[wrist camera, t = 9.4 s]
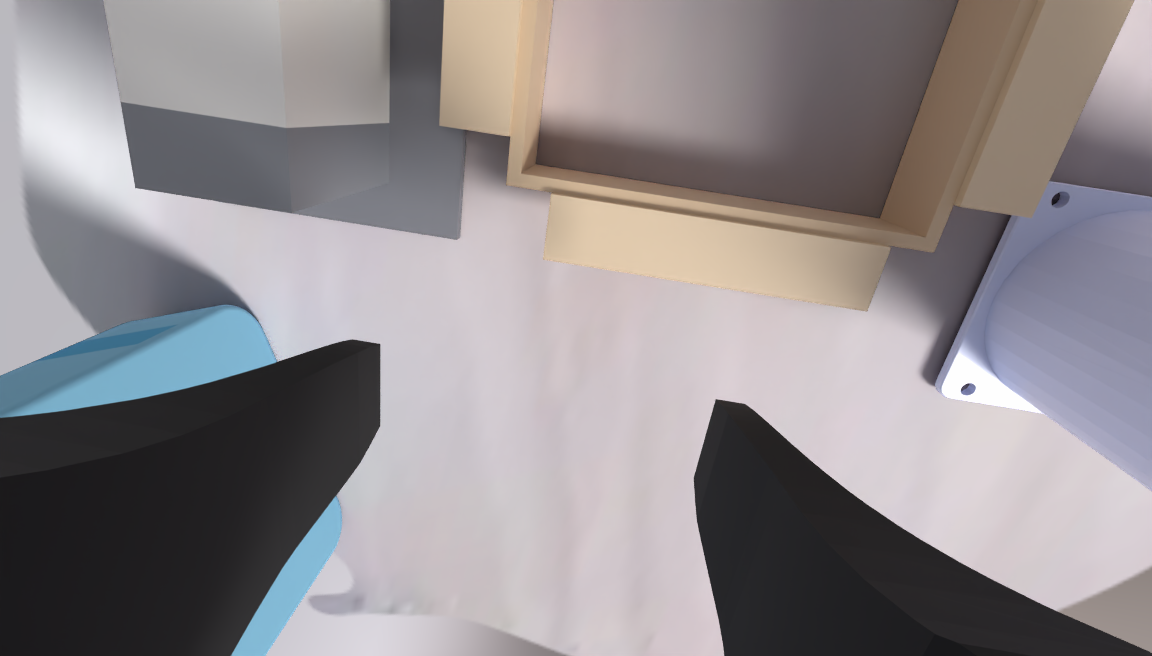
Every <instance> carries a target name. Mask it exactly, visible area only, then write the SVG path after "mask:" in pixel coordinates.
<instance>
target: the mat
mask: <svg viewBox="0 0 1152 656" xmlns="http://www.w3.org/2000/svg"><path fill="white" fill-rule="evenodd" d="M443 21H444V0H390V99H389V183H387V184H384V185H381V186H378V187H374V188H371V189H368V190H365V191H361V192H358V193H355V194H352V195H348V196H345V197H342V198H339V199H335V200H332V201H329V202H326V203H323V204H319V205H316V206H313V207H310V208H306V209H303V210H300V211H297V212H293V214H299V215H306V216H312V217H318V218H324V219H331V220H337V221H343V222H349V223H356V224H362V225H368V226H374V227H381V228H387V229H393V230H399V231H406V232H412V233H418V234H424V235H430V236H437V237H443V238H449V239H455V240H457V239H459V238H460V230H461V213H462V196H463V179H464V162H465V145H466V130H464V129H457V128H451V127H445V126H439V119H440V95H441V70H442V46H443ZM218 202H220V201H218ZM224 203H226V202H224ZM231 204H233V203H231ZM237 205H239V204H237ZM243 206H245V205H243ZM249 207H251V206H249ZM256 208H258V207H256ZM262 209H264V208H262ZM268 210H270V209H268ZM274 211H276V210H274ZM281 212H283V211H281ZM287 213H289V212H287Z"/></svg>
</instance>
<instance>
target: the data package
mask: <svg viewBox="0 0 1152 656" xmlns="http://www.w3.org/2000/svg"><path fill="white" fill-rule="evenodd" d="M276 362H277V361H276V358H275V356H274V354H273V351H272V349H271V347H270V345H269V342H268V340H267V338H266V336H265V333H264V331H263V329H262V327H261V326H260V324H259V323H258V321H257V320H256V319H255V318H254V317H253V316H252V315H251V314H250V313H249V312H247V311H246V310H244V309H242V308H240V307H237V306H234V305H219V306H213V307H208V308H202V309H197V310H191V311H186V312H180V313H175V314H169V315H163V316H158V317H152V318H147V319H141V320H136V321H130V322H126V323H123V324H121V325H118V326H116V327H114V328H111V329H109V330H107V331H104V332H102V333H100V334H97V335H95V336H93V337H90V338H88V339H86V340H83V341H81V342H78V343H76V344H74V345H71V346H69V347H67V348H65V349H62V350H60V351H57V352H55V353H53V354H50V355H48V356H46V357H43V358H41V359H39V360H36V361H34V362H32V363H29V364H27V365H25V366H22V367H20V368H18V369H15V370H13V371H10V372H8V373H6V374H3V375H1V376H0V418H3V417H14V416H23V415H32V414H41V413H49V412H57V411H65V410H72V409H78V408H84V407H90V406H96V405H103V404H109V403H115V402H121V401H127V400H134V399H139V398H144V397H149V396H154V395H158V394H163V393H167V392H172V391H177V390H181V389H185V388H189V387H193V386H198V385H201V384H205V383H209V382H213V381H216V380H220V379H223V378H226V377H230V376H233V375H236V374H240V373H243V372H247V371H250V370H253V369H257V368H260V367H263V366H267V365H270V364H273V363H276ZM341 527H342V514H341V507H340V504H339V501H338V499H337V496H335V498H334V499H333V500H332V502H331V503H330V504H329V506H328V507H327V508H326V510H325V511H324V512H323V514H322V515H321V516H320V518H319V519H318V520H317V521H316V523H315V524H314V525H313V527H312V528H311V529H310V531H309V532H308V533H307V535H306V536H305V537H304V539H303V540H302V541H301V543H300V544H299V545H298V547H297V548H296V549H295V551H294V552H293V554H292V555H291V557H290V558H289V560H288V561H287V563H286V564H285V565H284V567H283V568H282V570H281V572H280V573H279V575H278V577H277V578H276V580H275V581H274V583H273V585H272V586H271V588H270V590H269V591H268V593H267V595H266V596H265V598H264V600H263V601H262V603H261V605H260V606H259V608H258V610H257V611H256V613H255V615H254V616H253V618H252V620H251V622H250V623H249V625H248V627H247V629H246V630H245V632H244V634H243V636H242V637H241V639H240V641H239V643H238V644H237V646H236V648H235V650H234V651H233V653H232V655H231V656H265V655H266V654H267V652H268V651H269V649H270V648H271V646H272V645H273V643H274V642H275V640H276V639H277V637H278V636H279V634H280V632H281V631H282V629H283V628H284V626H285V625H286V623H287V622H288V620H289V619H290V617H291V615H292V614H293V612H294V611H295V610H296V608H297V606H298V604H299V603H300V602H301V600H302V599H303V597H304V596H305V594H306V593H307V591H308V590H309V588H310V587H311V585H312V583H313V582H314V580H315V579H316V577H317V576H318V574H319V573H320V571H321V570H322V568H323V567H324V565H325V564H326V562H327V561H328V559H329V558H330V556H331V554H332V553H333V551H334V550H335V548H336V546H337V543H338V541H339V537H340V533H341Z"/></svg>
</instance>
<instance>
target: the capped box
mask: <svg viewBox="0 0 1152 656" xmlns="http://www.w3.org/2000/svg"><path fill="white" fill-rule="evenodd" d="M103 2H104V8H105V14H106V20H107V25H108V31H109V37H110V43H111V49H112V54H113V60H114V66H115V72H116V78H117V83H118V89H119V95H120V101H121V107H122V112H123V118H124V124H125V130H126V136H127V141H128V147H129V153H130V159H131V165H132V170H133V176H134V182H135V188H139V189H145V190H152V191H158V192H164V193H170V194H176V195H183V196H189V197H195V198H201V199H208V200H214V201H220V202H226V203H233V204H239V205H245V206H251V207H258V208H264V209H270V210H276V211H283V212H289V213H293V212H297V211H300V210H303V209H306V208H310V207H313V206H316V205H319V204H323V203H326V202H329V201H332V200H335V199H339V198H342V197H345V196H348V195H352V194H355V193H358V192H361V191H365V190H368V189H371V188H374V187H378V186H381V185H384V184H387V183H389V99H390V0H103Z"/></svg>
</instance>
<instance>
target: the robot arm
mask: <svg viewBox="0 0 1152 656" xmlns="http://www.w3.org/2000/svg"><path fill="white" fill-rule="evenodd" d="M1057 193H1060V199H1059V200H1058V202H1057V203H1056V204H1054V205H1052V204H1051V201H1052V198H1053V197H1054V195H1055V194H1057ZM967 383H969V386H968V387H967V389H965V390H961V388H962V386H963V385H965V384H967ZM935 387H936V390H937V391H938V392H939V393H940V394H942V395H943V396H944V397H946V398H950V399H956V400H962V401H969V402H975V403H981V404H987V405H993V406H999V407H1005V408H1011V409H1018V410H1024V411H1030V412H1036V413H1042V414H1045V415H1046V416H1048V417H1049V418H1050V419H1052V420H1053V421H1055V422H1056V423H1057V424H1059V425H1060V426H1062V427H1063V428H1064V429H1066V430H1067V431H1069V432H1070V433H1071V434H1073V435H1074V436H1076V437H1077V438H1078V439H1080V440H1081V441H1082V442H1084V443H1085V444H1087V445H1088V446H1089V447H1091V448H1092V449H1094V450H1095V451H1096V452H1098V453H1099V454H1101V455H1102V456H1103V457H1105V458H1106V459H1108V460H1109V461H1110V462H1112V463H1113V464H1115V465H1116V466H1117V467H1119V468H1120V469H1122V470H1123V471H1124V472H1126V473H1127V474H1129V475H1130V476H1131V477H1133V478H1134V479H1136V480H1137V481H1138V482H1140V483H1141V484H1143V485H1144V486H1145V487H1147V488H1148V489H1150V490H1151V491H1152V197H1149V196H1143V195H1136V194H1130V193H1124V192H1117V191H1111V190H1104V189H1098V188H1091V187H1085V186H1078V185H1072V184H1065V183H1059V182H1052V181H1049V182H1048V185H1047V187H1046V189H1045V191H1044V193H1043V195H1042V197H1041V199H1040V202H1039V204H1038V206H1037V208H1036V210H1035V212H1034V214H1033V216H1032V218H1027V217H1021V216H1015V215H1012V216H1011V218H1010V220H1009V222H1008V224H1007V227H1006V229H1005V231H1004V233H1003V235H1002V238H1001V240H1000V242H999V244H998V246H997V248H996V251H995V253H994V255H993V257H992V259H991V262H990V264H989V266H988V268H987V270H986V273H985V275H984V277H983V279H982V281H981V284H980V286H979V288H978V290H977V292H976V294H975V297H974V299H973V301H972V303H971V305H970V308H969V310H968V312H967V314H966V316H965V319H964V321H963V323H962V325H961V327H960V330H959V332H958V334H957V336H956V338H955V340H954V343H953V345H952V347H951V349H950V351H949V354H948V356H947V358H946V360H945V362H944V365H943V367H942V369H941V371H940V373H939V376H938V378H937V380H936V384H935ZM379 427H380V344H377V343H370V342H364V341H358V340H347V341H342V342H338V343H335V344H331V345H328V346H325V347H321V348H318V349H315V350H312V351H309V352H306V353H303V354H300V355H297V356H294V357H291V358H288V359H285V360H282V361H279V362H276V363H273V364H270V365H267V366H263V367H260V368H257V369H253V370H250V371H247V372H243V373H240V374H236V375H233V376H230V377H226V378H223V379H220V380H216V381H213V382H209V383H205V384H201V385H198V386H193V387H189V388H185V389H181V390H177V391H172V392H167V393H163V394H158V395H154V396H149V397H144V398H139V399H134V400H127V401H121V402H115V403H109V404H103V405H96V406H90V407H84V408H78V409H72V410H65V411H57V412H49V413H41V414H32V415H23V416H14V417H3V418H0V656H231V655H232V653H233V651H234V650H235V648H236V646H237V644H238V643H239V641H240V639H241V637H242V636H243V634H244V632H245V630H246V629H247V627H248V625H249V623H250V622H251V620H252V618H253V616H254V615H255V613H256V611H257V610H258V608H259V606H260V605H261V603H262V601H263V600H264V598H265V596H266V595H267V593H268V591H269V590H270V588H271V586H272V585H273V583H274V581H275V580H276V578H277V577H278V575H279V573H280V572H281V570H282V568H283V567H284V565H285V564H286V563H287V561H288V560H289V558H290V557H291V555H292V554H293V552H294V551H295V549H296V548H297V547H298V545H299V544H300V543H301V541H302V540H303V539H304V537H305V536H306V535H307V533H308V532H309V531H310V529H311V528H312V527H313V525H314V524H315V523H316V521H317V520H318V519H319V518H320V516H321V515H322V514H323V512H324V511H325V510H326V508H327V507H328V506H329V504H330V503H331V502H332V500H333V499H334V498H335V496H336V495H337V494H338V492H339V491H340V490H341V488H342V487H343V486H344V484H345V483H346V482H347V480H348V479H349V477H350V476H351V475H352V473H353V472H354V471H355V469H356V468H357V466H358V465H359V464H360V462H361V460H362V459H363V457H364V455H365V453H366V451H367V450H368V448H369V446H370V444H371V442H372V440H373V438H374V437H375V435H376V433H377V431H378V429H379ZM694 489H695V504H696V515H697V523H698V528H699V533H700V537H701V542H702V547H703V551H704V556H705V560H706V565H707V569H708V574H709V578H710V583H711V587H712V592H713V596H714V601H715V605H716V610H717V614H718V619H719V624H720V629H721V635H722V641H723V647H724V656H1152V653H1150V652H1149V651H1146V650H1144V649H1142V648H1140V647H1137V646H1135V645H1133V644H1130V643H1128V642H1126V641H1124V640H1121V639H1119V638H1116V637H1114V636H1112V635H1110V634H1107V633H1105V632H1103V631H1101V630H1098V629H1096V628H1094V627H1091V626H1089V625H1087V624H1085V623H1082V622H1080V621H1078V620H1075V619H1073V618H1071V617H1068V616H1066V615H1064V614H1062V613H1059V612H1057V611H1055V610H1053V609H1050V608H1048V607H1046V606H1044V605H1042V604H1040V603H1038V602H1036V601H1034V600H1032V599H1030V598H1028V597H1026V596H1024V595H1022V594H1020V593H1018V592H1016V591H1014V590H1012V589H1010V588H1008V587H1006V586H1004V585H1002V584H1000V583H998V582H996V581H994V580H992V579H990V578H988V577H986V576H984V575H982V574H980V573H978V572H977V571H975V570H973V569H971V568H969V567H967V566H965V565H964V564H962V563H960V562H958V561H956V560H955V559H953V558H951V557H950V556H948V555H946V554H944V553H943V552H941V551H939V550H937V549H936V548H934V547H932V546H931V545H929V544H927V543H925V542H924V541H922V540H920V539H919V538H917V537H915V536H914V535H912V534H911V533H909V532H907V531H906V530H904V529H903V528H901V527H899V526H898V525H896V524H895V523H894V522H892V521H891V520H889V519H888V518H886V517H885V516H883V515H882V514H880V513H879V512H877V511H876V510H874V509H873V508H871V507H870V506H868V505H867V504H865V503H864V502H863V501H861V500H860V499H859V498H857V497H856V496H855V495H853V494H852V493H850V492H849V491H848V490H847V489H845V488H844V487H843V486H841V485H840V484H839V483H838V482H836V481H835V480H834V479H833V478H831V477H830V476H829V475H827V474H826V473H825V472H824V471H823V470H821V469H820V468H819V467H818V466H817V465H815V464H814V463H813V462H812V461H811V460H809V459H808V458H807V457H806V456H805V455H804V454H802V453H801V452H800V451H799V450H798V449H797V448H796V447H794V446H793V445H792V444H791V443H790V442H789V441H788V440H787V439H785V438H784V437H783V436H782V435H781V434H780V433H779V432H778V431H776V430H775V429H774V428H773V427H772V426H771V425H770V424H769V423H768V422H766V421H765V420H764V419H763V418H762V417H761V416H760V415H758V414H757V413H756V412H755V411H754V410H752V409H751V408H750V407H748V406H747V405H746V404H742V403H735V402H729V401H723V400H717V399H716V401H715V404H714V408H713V411H712V415H711V419H710V422H709V426H708V429H707V433H706V436H705V440H704V444H703V447H702V451H701V454H700V458H699V461H698V465H697V469H696V472H695V476H694Z"/></svg>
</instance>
